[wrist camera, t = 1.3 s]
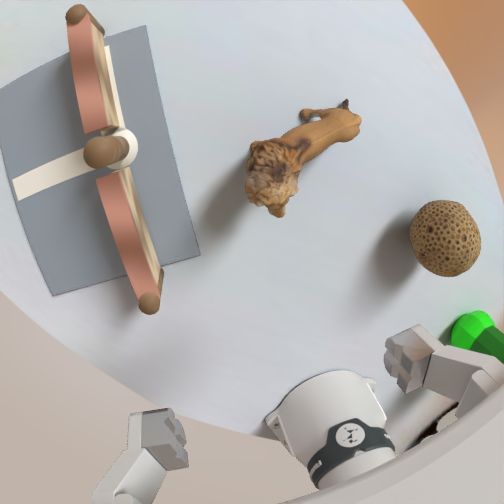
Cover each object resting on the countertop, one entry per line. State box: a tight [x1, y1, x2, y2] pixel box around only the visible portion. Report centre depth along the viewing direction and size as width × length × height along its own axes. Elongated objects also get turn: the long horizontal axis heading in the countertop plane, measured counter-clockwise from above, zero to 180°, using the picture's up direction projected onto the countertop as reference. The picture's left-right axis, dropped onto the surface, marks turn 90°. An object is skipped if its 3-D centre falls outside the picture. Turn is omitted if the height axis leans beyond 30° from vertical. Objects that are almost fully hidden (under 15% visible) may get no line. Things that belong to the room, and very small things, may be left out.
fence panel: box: [96, 166, 164, 315], centre depth 26 cm, size 12×2×6 cm, turn 11°
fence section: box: [66, 4, 130, 169], centre depth 20 cm, size 15×2×7 cm, turn 11°
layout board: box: [0, 25, 200, 296], centre depth 26 cm, size 24×18×1 cm
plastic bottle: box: [451, 311, 504, 365], centre depth 35 cm, size 10×10×25 cm
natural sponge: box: [410, 200, 481, 277], centre depth 31 cm, size 9×9×10 cm
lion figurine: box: [245, 99, 362, 218], centre depth 25 cm, size 15×5×9 cm, turn 131°
